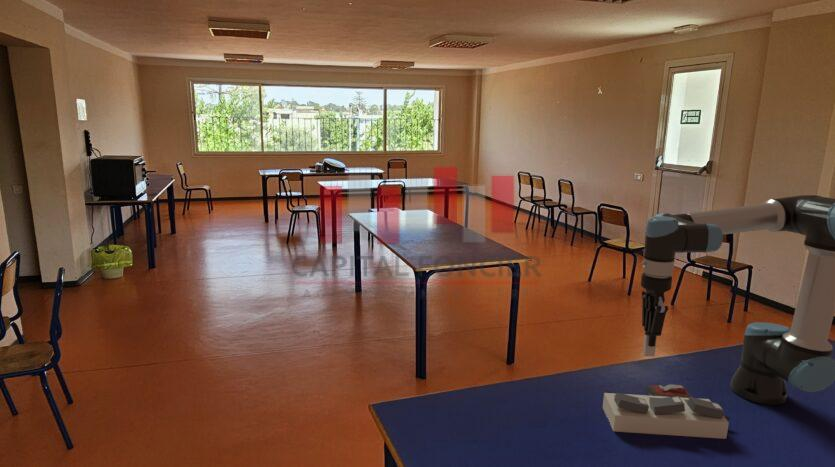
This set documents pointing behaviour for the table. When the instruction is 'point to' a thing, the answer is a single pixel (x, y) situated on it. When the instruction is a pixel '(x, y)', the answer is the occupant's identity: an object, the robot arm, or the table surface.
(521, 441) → the table surface
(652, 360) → the table surface
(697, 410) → the block
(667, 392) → the walkie-talkie
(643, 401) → the rocker
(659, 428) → the power strip
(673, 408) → the rocker
